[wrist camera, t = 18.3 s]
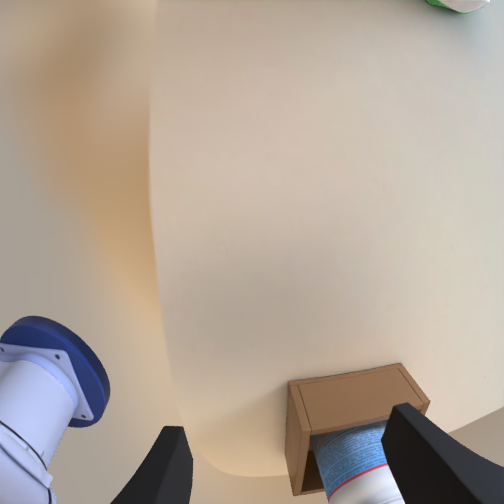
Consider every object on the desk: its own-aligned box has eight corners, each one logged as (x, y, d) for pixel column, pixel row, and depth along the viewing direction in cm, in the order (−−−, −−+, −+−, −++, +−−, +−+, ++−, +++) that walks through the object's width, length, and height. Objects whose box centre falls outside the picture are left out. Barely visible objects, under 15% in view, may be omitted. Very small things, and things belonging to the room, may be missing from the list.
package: (284, 453, 23) (293, 496, 19) (288, 381, 21) (301, 431, 16) (378, 435, 24) (396, 472, 19) (401, 362, 21) (430, 401, 17)
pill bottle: (293, 436, 22) (321, 552, 11) (331, 385, 21) (384, 512, 10) (351, 442, 23) (390, 540, 12) (389, 395, 22) (450, 497, 11)
